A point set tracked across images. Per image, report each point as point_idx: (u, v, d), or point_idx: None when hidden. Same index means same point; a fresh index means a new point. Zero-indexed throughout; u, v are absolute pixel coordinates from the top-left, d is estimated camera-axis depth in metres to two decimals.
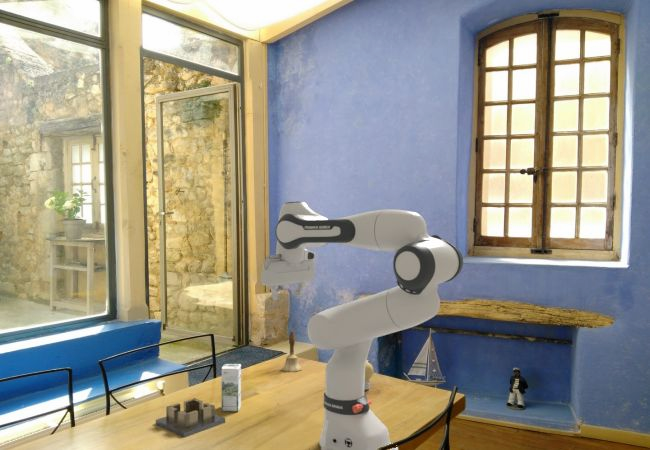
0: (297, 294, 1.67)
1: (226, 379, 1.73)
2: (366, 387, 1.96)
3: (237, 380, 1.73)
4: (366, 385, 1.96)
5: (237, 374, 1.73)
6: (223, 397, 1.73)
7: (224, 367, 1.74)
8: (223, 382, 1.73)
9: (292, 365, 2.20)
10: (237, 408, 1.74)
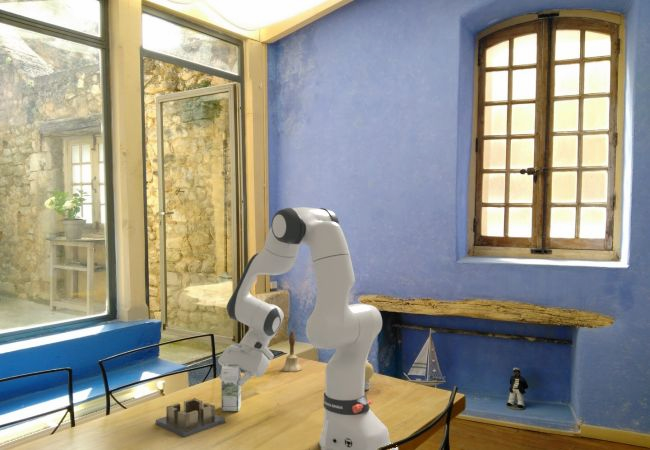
0: None
1: (226, 379, 1.73)
2: (366, 387, 1.96)
3: (237, 380, 1.73)
4: (366, 385, 1.96)
5: (237, 374, 1.73)
6: (223, 397, 1.73)
7: (223, 367, 1.74)
8: (223, 382, 1.73)
9: (292, 365, 2.20)
10: (237, 408, 1.74)
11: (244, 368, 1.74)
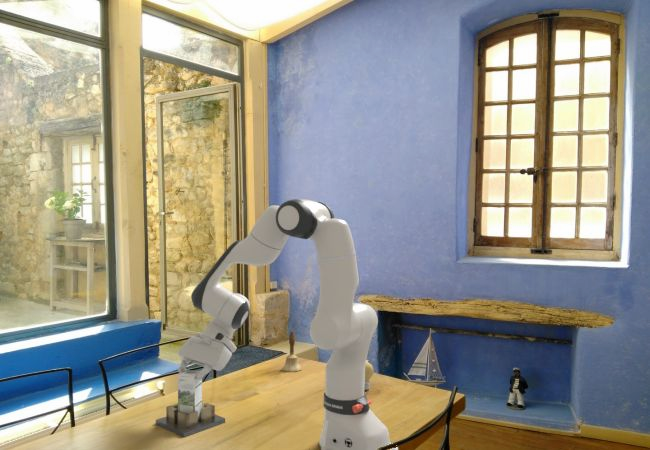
0: None
1: (182, 387, 1.61)
2: (366, 387, 1.96)
3: (193, 389, 1.61)
4: (366, 385, 1.96)
5: (193, 382, 1.60)
6: (180, 406, 1.62)
7: (180, 374, 1.62)
8: (179, 390, 1.61)
9: (292, 365, 2.20)
10: None
11: (204, 361, 1.62)
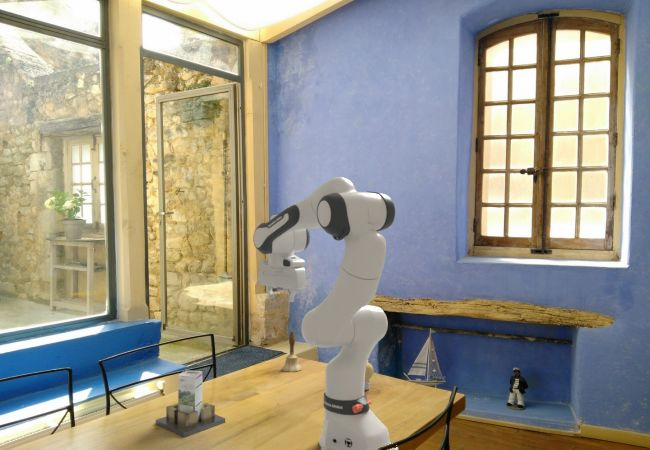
0: None
1: (182, 387, 1.61)
2: (366, 387, 1.96)
3: (194, 389, 1.61)
4: (366, 385, 1.96)
5: (194, 382, 1.61)
6: (180, 406, 1.62)
7: (181, 374, 1.62)
8: (180, 390, 1.61)
9: (292, 365, 2.20)
10: None
11: (286, 287, 1.79)
